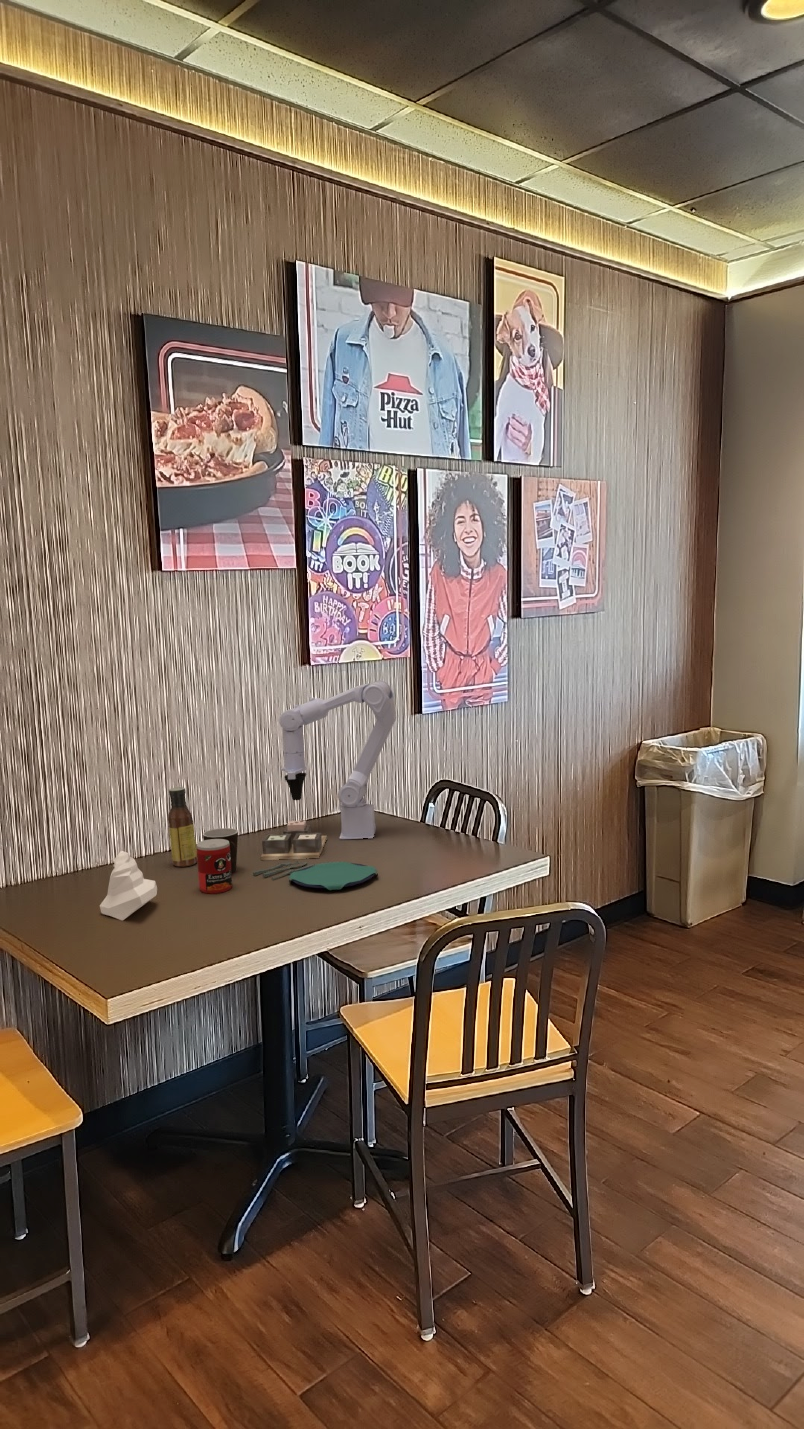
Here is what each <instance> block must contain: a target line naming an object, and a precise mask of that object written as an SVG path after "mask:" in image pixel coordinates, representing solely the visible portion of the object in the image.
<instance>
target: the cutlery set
mask: <svg viewBox="0 0 804 1429" xmlns="http://www.w3.org/2000/svg"><path fill="white" fill-rule="evenodd" d="M294 861H295V862H296V861H297V860H294ZM290 862H291V861H289V862H284V863H283V862H282V863H278V865H275V866H272V867H269V868H266V869H260V870H257V871H255V870H254V871H253V872H252V875H253V876H255V877H257V876H259V875H261V874H262V877H263V878H266V877H269V876H271V875H274V874H277V873H279V872H284V871H285V873H282V874H280V875H277V876H273V877H271V881H275V879H277V878H280V877H282V876H286V875H289V876H288V878H289V879H288V882H289V883H290V882H291V881H292V882H293V883H295V884H296V885H298V886H302V887H306V888H314V889H327V890H329V891H332V890H334V891H335V890H342V889H343V888H345V887H351V886H355V885H358V884H362V883H364V882H366V881H369V880H371V879H372V878H373V877H374V876H375V874H377V877H378V876H379V873H378V870H377V868H376V867H374V866H373V865H365V864H362V863H353V862H347V861H332V862H328V861H327V862H323V863H321V862H320V863H317V864H315V863H312V864H309V865H307V863H308V862H307V861H297V863H294V864H292V863H290ZM303 862H304V863H305V864H301V865H299V864H298V863H303ZM296 864H298V865H296ZM288 865H289V866H288ZM291 865H294V866H292V867H290V866H291ZM304 865H305V866H304ZM313 865H314V866H313ZM283 866H286V867H287V868H285V867H283ZM302 866H303V867H302ZM299 867H300V868H299ZM279 868H281V869H279ZM290 868H295V869H290ZM268 871H269V872H268ZM265 872H266V873H265ZM256 875H257V876H256Z"/></svg>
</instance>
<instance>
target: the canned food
mask: <svg viewBox="0 0 804 1429" xmlns="http://www.w3.org/2000/svg"><path fill="white" fill-rule="evenodd" d="M196 851H197V862H196V863H197V871H198V872H197V874H198V875H197V876H198V886H199V889H200V891H201V892H202V893H204V894H221V892H222V893H225V892H228V891H229V890H230V889H231V888H232V886H233V880H232V879H233V876H232V875H233V873H231V857H230V844H229V841H228V840H225V839H210V840H204V839H203V840H202V841H199V842H197V843H196ZM224 891H225V892H224Z"/></svg>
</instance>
